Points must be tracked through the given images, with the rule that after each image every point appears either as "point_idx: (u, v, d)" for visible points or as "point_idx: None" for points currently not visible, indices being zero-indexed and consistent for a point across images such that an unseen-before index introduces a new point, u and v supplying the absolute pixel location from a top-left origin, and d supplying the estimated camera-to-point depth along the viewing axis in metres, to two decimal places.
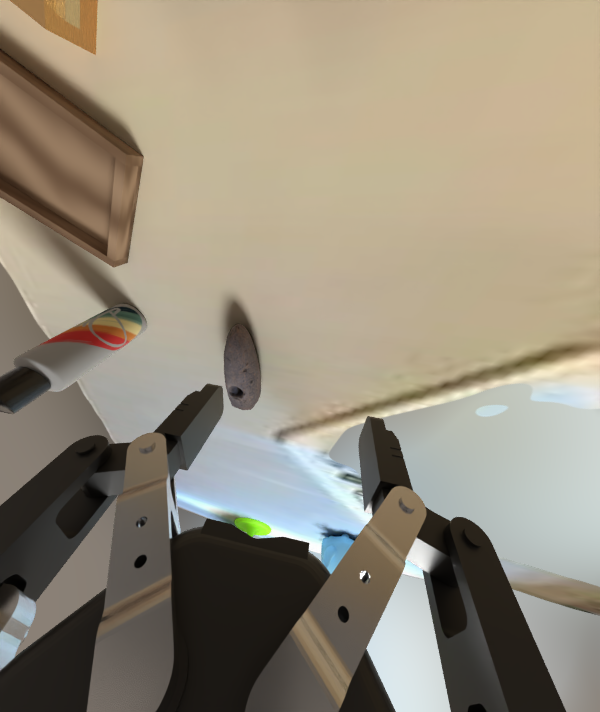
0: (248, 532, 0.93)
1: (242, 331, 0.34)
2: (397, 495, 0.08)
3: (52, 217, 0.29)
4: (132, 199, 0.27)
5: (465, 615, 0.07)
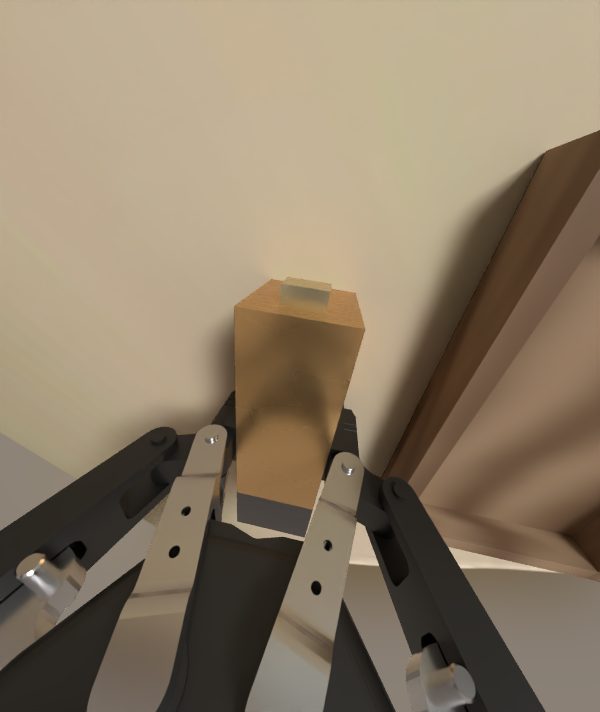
0: None
1: None
2: (341, 459, 0.09)
3: None
4: None
5: (405, 557, 0.08)
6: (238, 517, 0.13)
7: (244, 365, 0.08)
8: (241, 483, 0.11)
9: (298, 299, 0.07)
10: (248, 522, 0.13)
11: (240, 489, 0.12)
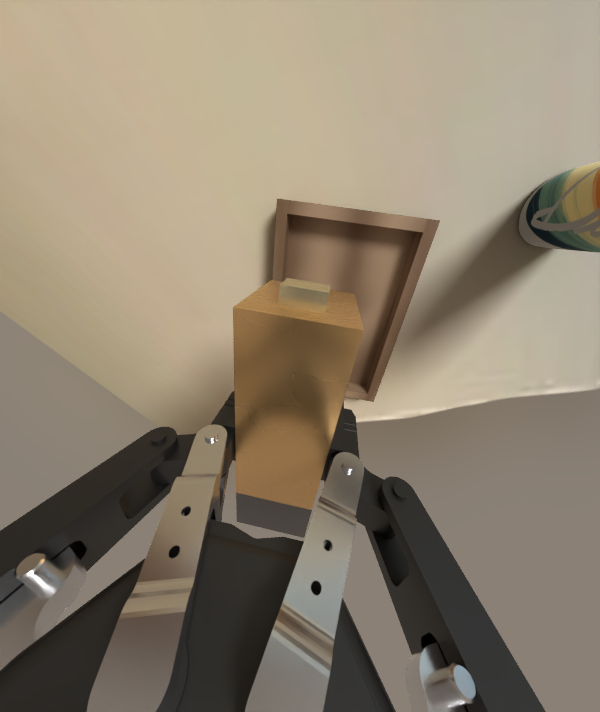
0: None
1: None
2: (340, 459, 0.09)
3: (392, 313, 0.24)
4: None
5: (405, 557, 0.08)
6: (237, 517, 0.13)
7: (243, 366, 0.08)
8: (240, 483, 0.11)
9: (297, 300, 0.08)
10: (248, 522, 0.13)
11: (239, 489, 0.12)
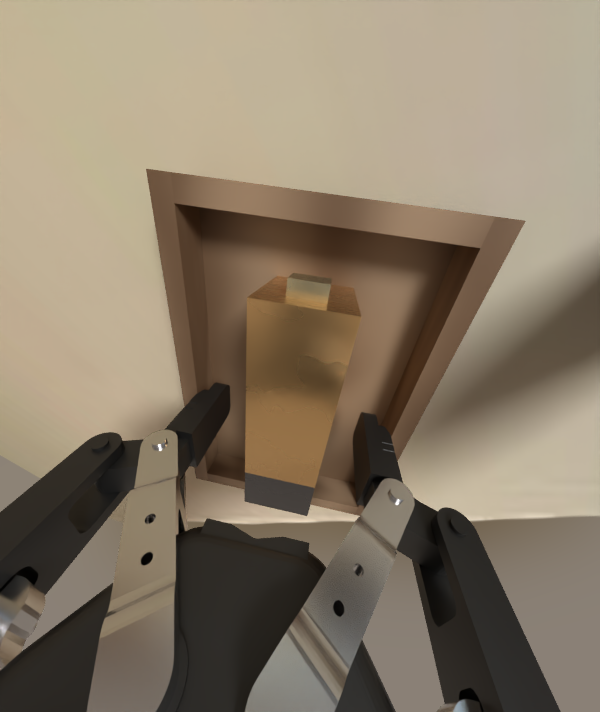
0: None
1: None
2: (387, 487, 0.08)
3: (403, 394, 0.13)
4: None
5: (454, 602, 0.07)
6: (245, 497, 0.14)
7: (254, 351, 0.09)
8: (249, 463, 0.12)
9: (303, 291, 0.08)
10: (255, 502, 0.14)
11: (248, 469, 0.13)
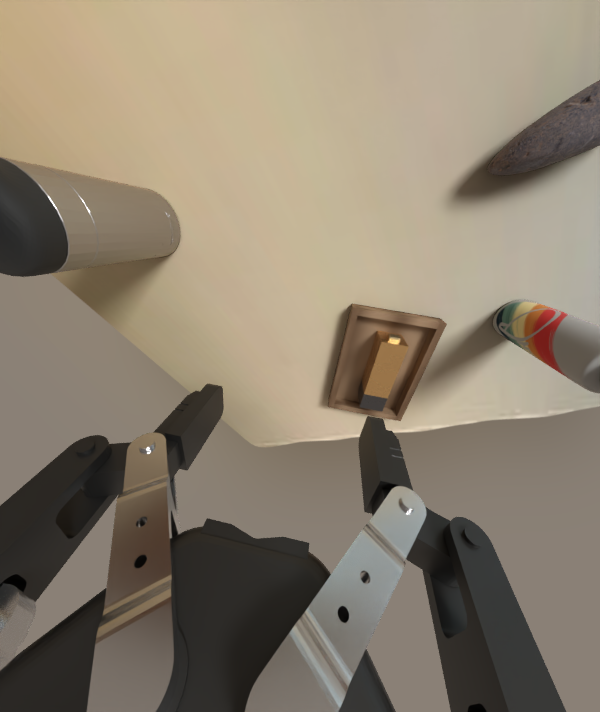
0: None
1: (498, 154, 0.24)
2: (397, 495, 0.08)
3: (416, 368, 0.39)
4: (382, 310, 0.36)
5: (465, 615, 0.07)
6: (360, 405, 0.40)
7: (379, 354, 0.35)
8: (366, 390, 0.39)
9: (393, 339, 0.35)
10: (363, 407, 0.40)
11: (365, 392, 0.39)
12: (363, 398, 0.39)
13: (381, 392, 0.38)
